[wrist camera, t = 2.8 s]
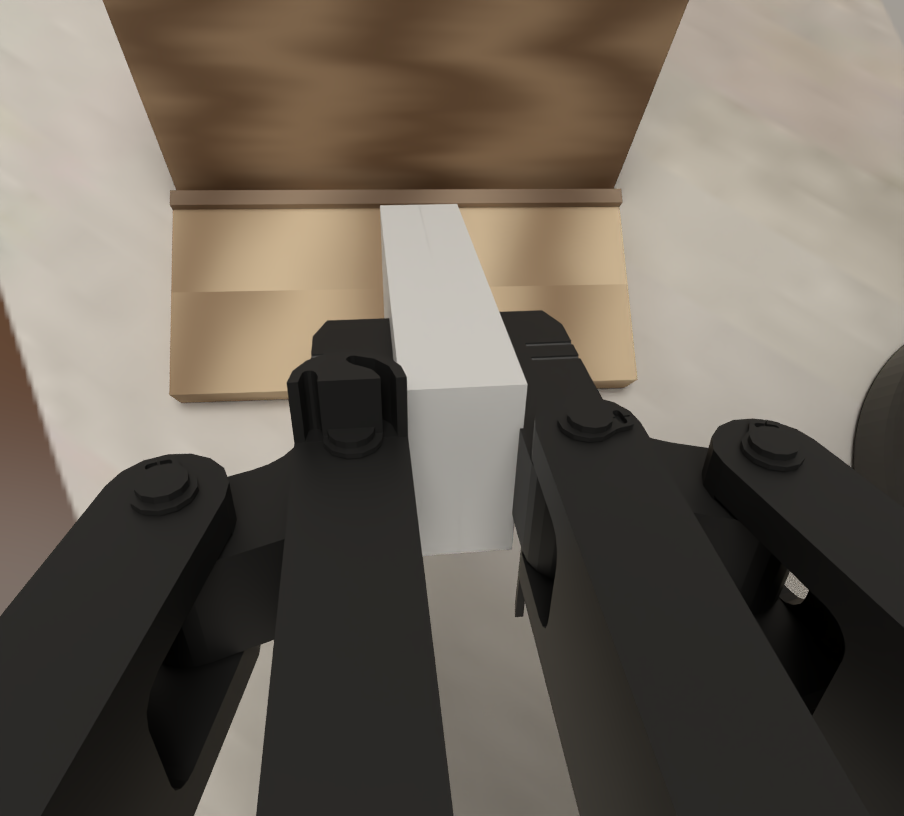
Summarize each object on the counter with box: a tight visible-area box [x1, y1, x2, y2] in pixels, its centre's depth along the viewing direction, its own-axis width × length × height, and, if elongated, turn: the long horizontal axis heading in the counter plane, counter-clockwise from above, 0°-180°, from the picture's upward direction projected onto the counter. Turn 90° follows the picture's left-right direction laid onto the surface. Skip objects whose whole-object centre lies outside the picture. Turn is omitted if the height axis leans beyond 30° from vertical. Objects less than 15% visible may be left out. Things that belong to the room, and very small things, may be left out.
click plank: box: [103, 0, 689, 190], centre depth 24 cm, size 18×2×13 cm, turn 93°
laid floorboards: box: [169, 189, 637, 403], centre depth 28 cm, size 18×8×2 cm, turn 93°
